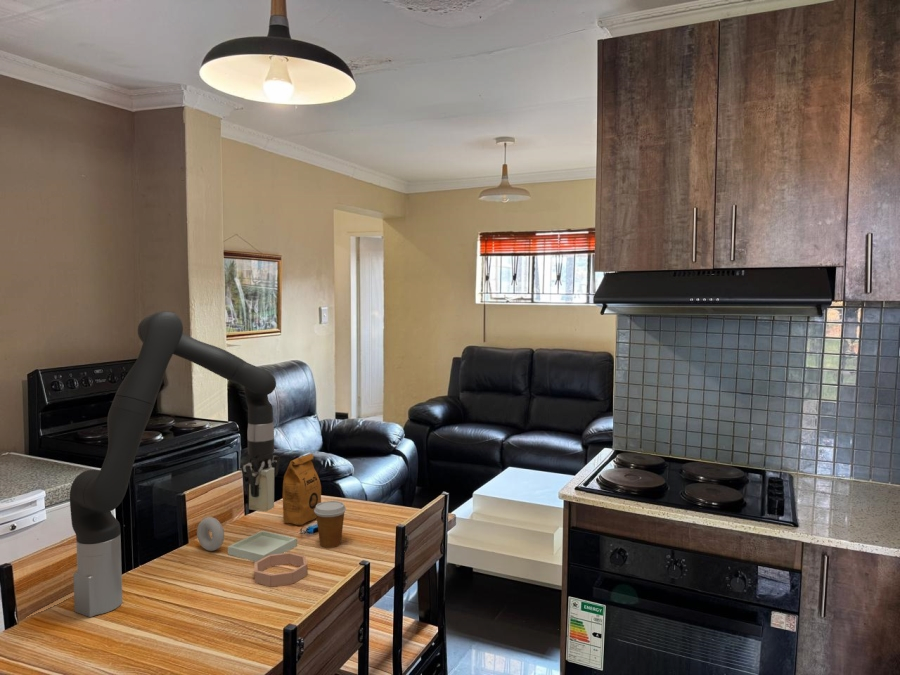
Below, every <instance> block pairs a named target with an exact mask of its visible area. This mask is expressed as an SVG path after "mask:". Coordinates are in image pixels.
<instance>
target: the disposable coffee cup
mask: <svg viewBox="0 0 900 675" xmlns="http://www.w3.org/2000/svg"><path fill="white" fill-rule="evenodd" d="M346 510H347V508H346V506H345V503H344V502H342V501H339V500H327V501H326V500H325V501H321V503H319V504H317V505H316V508H315V510H314V512H315V514H316V518H315V519H316V523H317V524H316V525H317V530H318V538H319V539H318V540H319V546H320V547H322V548H326V549H327V548H328V549H329V548H335V547H338V546H340V545H341V544H342V537H343V526H344V520H345V512H346Z"/></svg>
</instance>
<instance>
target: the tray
mask: <svg viewBox="0 0 900 675" xmlns="http://www.w3.org/2000/svg"><path fill="white" fill-rule="evenodd" d="M296 547H298V538H297V537H292V536H289V535H285V534H279V533H275V532H270V531H266V530H260V531H258V532H256V533H254V534H252V535H250V536H248V537H245V538H243V539H241V540H239V541H237V542H235V543H232V544H230V545H228V546H227V555H229V556H232V557H236V558H240V559H244V560H247V559H248V561H252V562H254V563H255V562H257V561H259V560H261V559H262V558H264V557H266V556H268V555H273V554H281V553H284V552H285V553H287V552H289V551H290V550H292V549H294V548H296ZM288 550H289V551H288ZM286 551H287V552H286Z"/></svg>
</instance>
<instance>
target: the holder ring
mask: <svg viewBox="0 0 900 675" xmlns="http://www.w3.org/2000/svg"><path fill="white" fill-rule="evenodd" d="M283 564H285V565H291V564H292V565H291V566H295V565H296V566H295V567H297V568H295V569H293V570H292V571H287V572H286V571H285V572H279V573H269V572H265V570H267V569H268V567H269V568H271V567H276V566H275V565H278V566H284V565H283ZM253 565H254V566H253V567H254V583H256V584H258V583H259V585H263V586H266V587H270V588H273V587H280V586H287V585H293V584H295V583H297V582H298V581H300V580H301V579H304V578H305V577H307V576H308V562H307V558H306V556H305V555H302V554H298V553H293V552H290V551H288V552H285V553H281V554H273V555H268V556H266V557H264V558H262V559H261V560H259V561H257V562H255V561H254V564H253ZM299 566H300V567H299ZM266 568H267V569H266Z"/></svg>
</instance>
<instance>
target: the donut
mask: <svg viewBox="0 0 900 675" xmlns="http://www.w3.org/2000/svg"><path fill="white" fill-rule="evenodd" d="M210 533H211V535H210ZM196 536H197V541H198V542H199V545H200V546H201V547H202V548H203V549H204V550H207V551H209V552H211V551H212V552H213V551H216V550H219V549H220V547H221V546H222V545H223V542H224V540H225V531H224V527H223V525H222V523H221V522H220V521H219V520H218V519H217V518H215V517H213V516H206V517H205V518H203V519H202V520H200V522H198V526H197V530H196Z"/></svg>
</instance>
